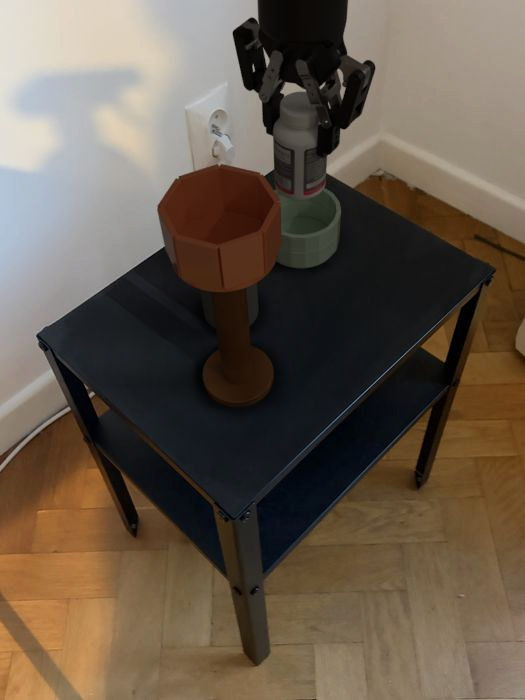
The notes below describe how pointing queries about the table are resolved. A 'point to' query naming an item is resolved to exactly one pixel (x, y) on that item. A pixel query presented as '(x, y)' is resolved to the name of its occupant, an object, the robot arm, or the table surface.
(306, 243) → the back bowl
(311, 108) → the pill bottle
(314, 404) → the table surface
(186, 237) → the raised bowl
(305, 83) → the robot arm
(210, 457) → the table surface
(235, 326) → the stand
